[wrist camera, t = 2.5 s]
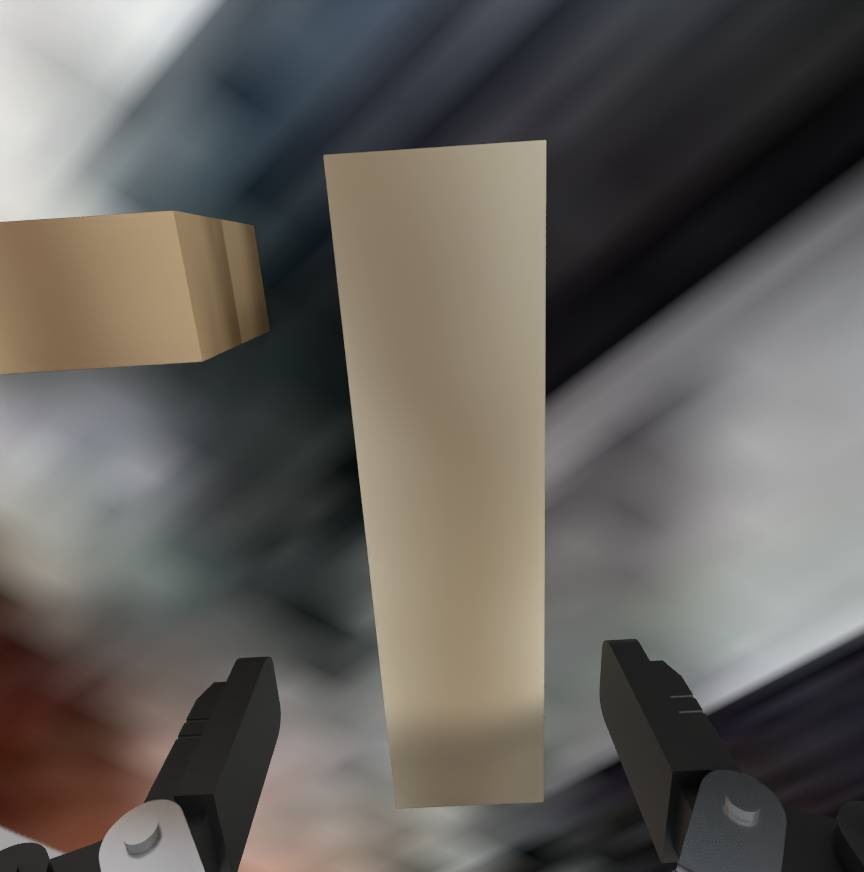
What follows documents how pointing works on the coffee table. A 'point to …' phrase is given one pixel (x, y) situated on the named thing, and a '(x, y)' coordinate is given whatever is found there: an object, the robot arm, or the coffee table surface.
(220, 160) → the coffee table surface
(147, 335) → the oak slotted rail
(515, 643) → the birch slotted plate
